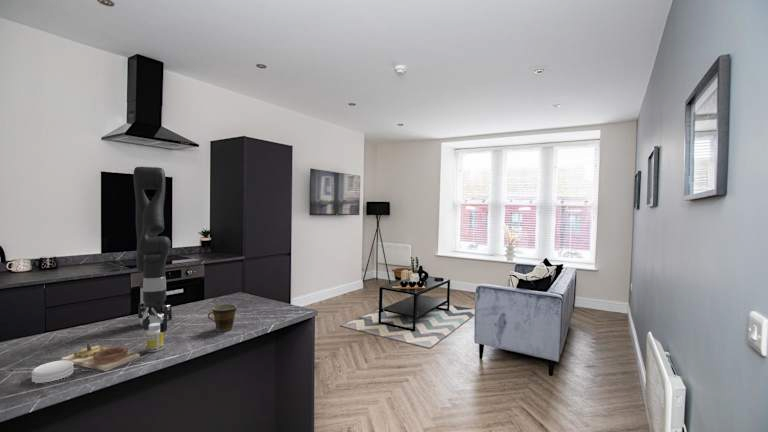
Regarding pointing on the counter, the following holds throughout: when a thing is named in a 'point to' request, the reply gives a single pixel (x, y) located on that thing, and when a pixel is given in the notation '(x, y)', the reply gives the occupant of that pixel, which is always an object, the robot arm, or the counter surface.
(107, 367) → the gear board
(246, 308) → the counter surface
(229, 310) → the ceramic cup
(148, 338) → the supplement bottle
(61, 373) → the coaster
